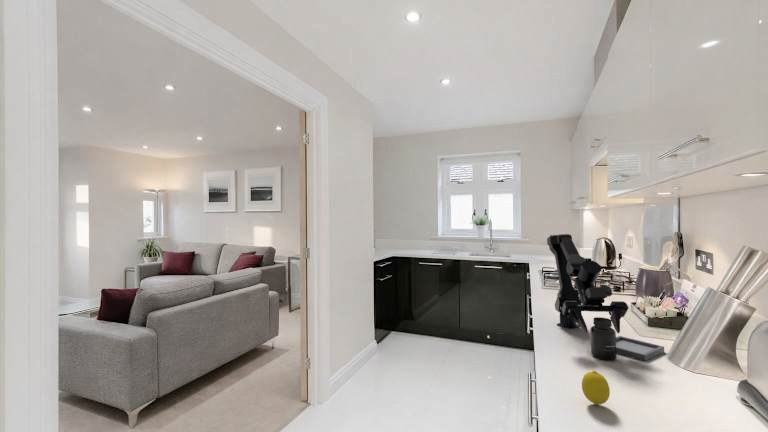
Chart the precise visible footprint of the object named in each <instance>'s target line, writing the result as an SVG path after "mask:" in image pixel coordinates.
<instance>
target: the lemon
mask: <svg viewBox="0 0 768 432" xmlns="http://www.w3.org/2000/svg"><path fill="white" fill-rule="evenodd" d="M581 390H582V393H583V395H584V397H585V398H586V399H587V400H588V401H589V402H590V403H593V404H594V406H599V405H603V404H606V402H607V401H608V400H609V398H610V394H611V393H610V391H611V390H610V385H609V383H608V380H607V379H606V377H605V376H604V375H603V374H601V373H599V372H598V371H596V370H592V371H588V372H586V373H585V374H584V375H583V377H582V380H581Z"/></svg>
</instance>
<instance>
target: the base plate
mask: <svg viewBox="0 0 768 432" xmlns="http://www.w3.org/2000/svg"><path fill="white" fill-rule="evenodd" d="M616 352H617V354H619V355H622V356H625V357H629V358H632V359H636V360H639V361H643V362H647V361H649V360H651V359H653V358H655V357H657V356H659V355H661V354H664V353H665V346H663V345H660V344H654V343H651V342H646V341H642V340H637V339H634V338H630V337H627V336H622V335H618V336H616Z"/></svg>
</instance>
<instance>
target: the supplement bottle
mask: <svg viewBox="0 0 768 432" xmlns="http://www.w3.org/2000/svg"><path fill="white" fill-rule="evenodd" d="M592 324H593V325H592V326H591V327H590V329H589V332H590V333H589V335H590V354H591V356H592V357H593V358H595V359H598V360H601V361H608V362H609V361H615V360H616V359H617V354H618V353H617V352H616V337H617V335H616V334H617V331H616V330H615V328H613V327H612V326H613V323H612V321H611V319H610V318H607V317H600V316H599V317H598V316H596V317H593V322H592Z"/></svg>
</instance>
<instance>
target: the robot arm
mask: <svg viewBox="0 0 768 432" xmlns="http://www.w3.org/2000/svg"><path fill="white" fill-rule="evenodd" d="M546 242H547V246H548V247H549V251H550V252H551V253H552V254H553V255H554V259H555V265H556V271H557V277H558V282H559V289H558V292H557V294H556V295H557V296H556V299H555V302H554V309H555V310H556V311H557V313H559V323H557V324H558V325H557V326H559V325H562V326H561V327H563V326H565V327H564V328H567V327H568V328H567V329H571V328H572V329H575V327H576V328H579V327H580V328H581V329H582V331H584V332H585V333H588V326H587V324H586V322H585V319H584V317H583V314H582V312H593V313H595V312H596V313H598V312H599V313H608V314H609V316H610V318H609V319H610V320H611V324H612V326H613V329H614V330H615V332H616V334H620V332H621V319H622V318H624V317H625V315H626V314H627V312H628V310H629V309H630V307H629V306H628V304H627V303H626V302H625V301H621V300H620V301H619V300H618V301H615V300H614V301H611V302H610V304H609V305H607V304H605V302H606V301H605V299H607V298H608V297H611V296H612V295H613V291H612V289H611V287H610V285H603V286H601V287H600V286H599V287H598V286H597V287H596V285H595V282H597V281H598V278H599V275H600V274H601V271H602V266H601V264H599V263H598V262H597V261H595V260H592V258H591V257H590V258H585V257H584V256H581V255H580V253H579V251H578V249H577V247H576V245H575V243H574V241H573V237H572V234H570V233H569V234H568V233H562V234H550V235H549V236H547V238H546ZM572 278H575V279H574V287H573V283H572ZM575 288H576V289H575ZM603 304H605V305H603ZM578 326H579V327H578Z"/></svg>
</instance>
